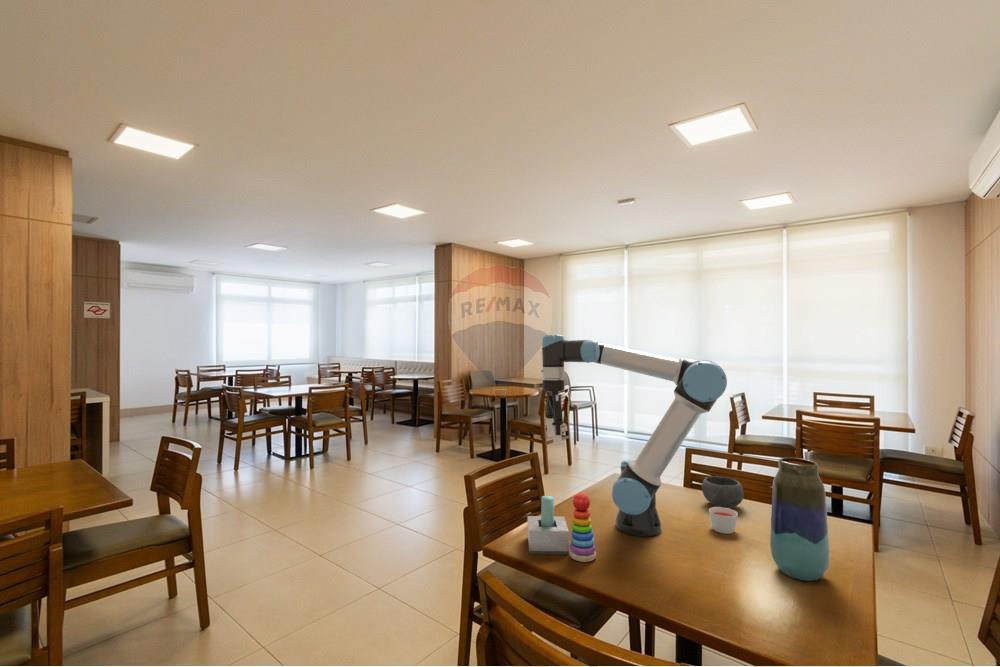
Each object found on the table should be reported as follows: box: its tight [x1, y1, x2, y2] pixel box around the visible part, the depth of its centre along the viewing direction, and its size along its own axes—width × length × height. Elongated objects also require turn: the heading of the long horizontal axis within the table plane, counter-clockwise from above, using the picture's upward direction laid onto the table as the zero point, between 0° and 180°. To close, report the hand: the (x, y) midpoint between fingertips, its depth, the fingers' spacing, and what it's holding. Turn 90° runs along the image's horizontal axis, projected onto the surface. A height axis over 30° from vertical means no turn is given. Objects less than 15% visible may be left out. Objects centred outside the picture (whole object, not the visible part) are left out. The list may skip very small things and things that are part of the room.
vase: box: [770, 457, 831, 582], centre depth 128 cm, size 14×14×31 cm
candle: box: [708, 506, 739, 535], centre depth 158 cm, size 9×9×6 cm
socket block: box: [527, 515, 570, 556], centre depth 145 cm, size 12×12×7 cm
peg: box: [540, 495, 555, 527], centre depth 145 cm, size 4×4×14 cm
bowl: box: [701, 475, 745, 509], centre depth 181 cm, size 15×15×10 cm
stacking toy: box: [569, 492, 597, 563], centre depth 137 cm, size 8×8×19 cm
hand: (554, 440), depth 158 cm, fingers open, 13 cm apart
